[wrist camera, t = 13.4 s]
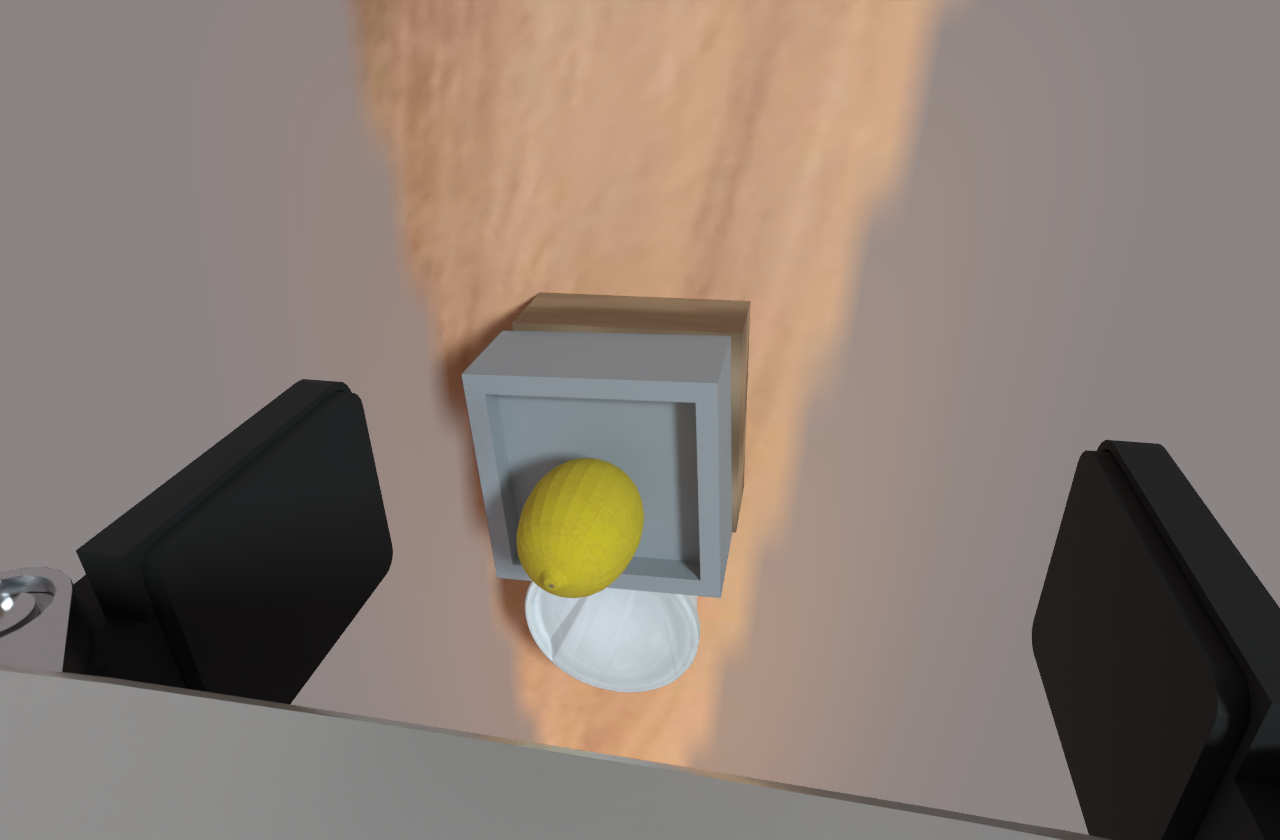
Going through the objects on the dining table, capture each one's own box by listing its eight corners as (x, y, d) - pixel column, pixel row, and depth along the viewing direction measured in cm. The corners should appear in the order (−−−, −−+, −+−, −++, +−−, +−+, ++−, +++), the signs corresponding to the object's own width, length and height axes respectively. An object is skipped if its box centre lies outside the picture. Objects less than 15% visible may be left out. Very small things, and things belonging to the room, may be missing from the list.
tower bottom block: (541, 291, 46) (511, 322, 42) (750, 299, 44) (742, 333, 40) (557, 469, 52) (532, 513, 48) (743, 484, 50) (736, 532, 45)
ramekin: (534, 504, 53) (507, 552, 49) (701, 505, 51) (688, 556, 46) (563, 634, 58) (540, 688, 54) (716, 641, 56) (706, 699, 51)
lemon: (559, 506, 42) (496, 618, 36) (552, 419, 39) (483, 524, 33) (661, 525, 41) (615, 644, 35) (662, 436, 38) (612, 548, 32)
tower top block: (502, 330, 42) (461, 374, 38) (731, 335, 40) (717, 383, 35) (529, 519, 48) (497, 577, 43) (731, 534, 45) (720, 597, 41)
